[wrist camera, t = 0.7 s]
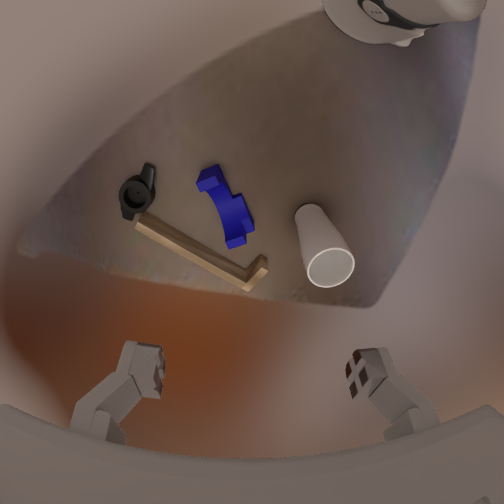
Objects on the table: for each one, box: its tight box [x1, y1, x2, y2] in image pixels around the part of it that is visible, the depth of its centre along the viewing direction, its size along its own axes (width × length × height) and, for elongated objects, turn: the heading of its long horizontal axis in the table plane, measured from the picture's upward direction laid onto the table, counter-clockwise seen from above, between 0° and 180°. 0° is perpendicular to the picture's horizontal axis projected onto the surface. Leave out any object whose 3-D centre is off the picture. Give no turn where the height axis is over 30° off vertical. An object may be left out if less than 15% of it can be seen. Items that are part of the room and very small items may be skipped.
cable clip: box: [196, 164, 255, 249], centre depth 44 cm, size 12×4×6 cm, turn 21°
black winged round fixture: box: [119, 164, 155, 221], centre depth 44 cm, size 8×10×3 cm
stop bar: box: [135, 211, 268, 292], centre depth 49 cm, size 6×24×4 cm, turn 53°
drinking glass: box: [295, 204, 355, 287], centre depth 42 cm, size 7×7×15 cm
